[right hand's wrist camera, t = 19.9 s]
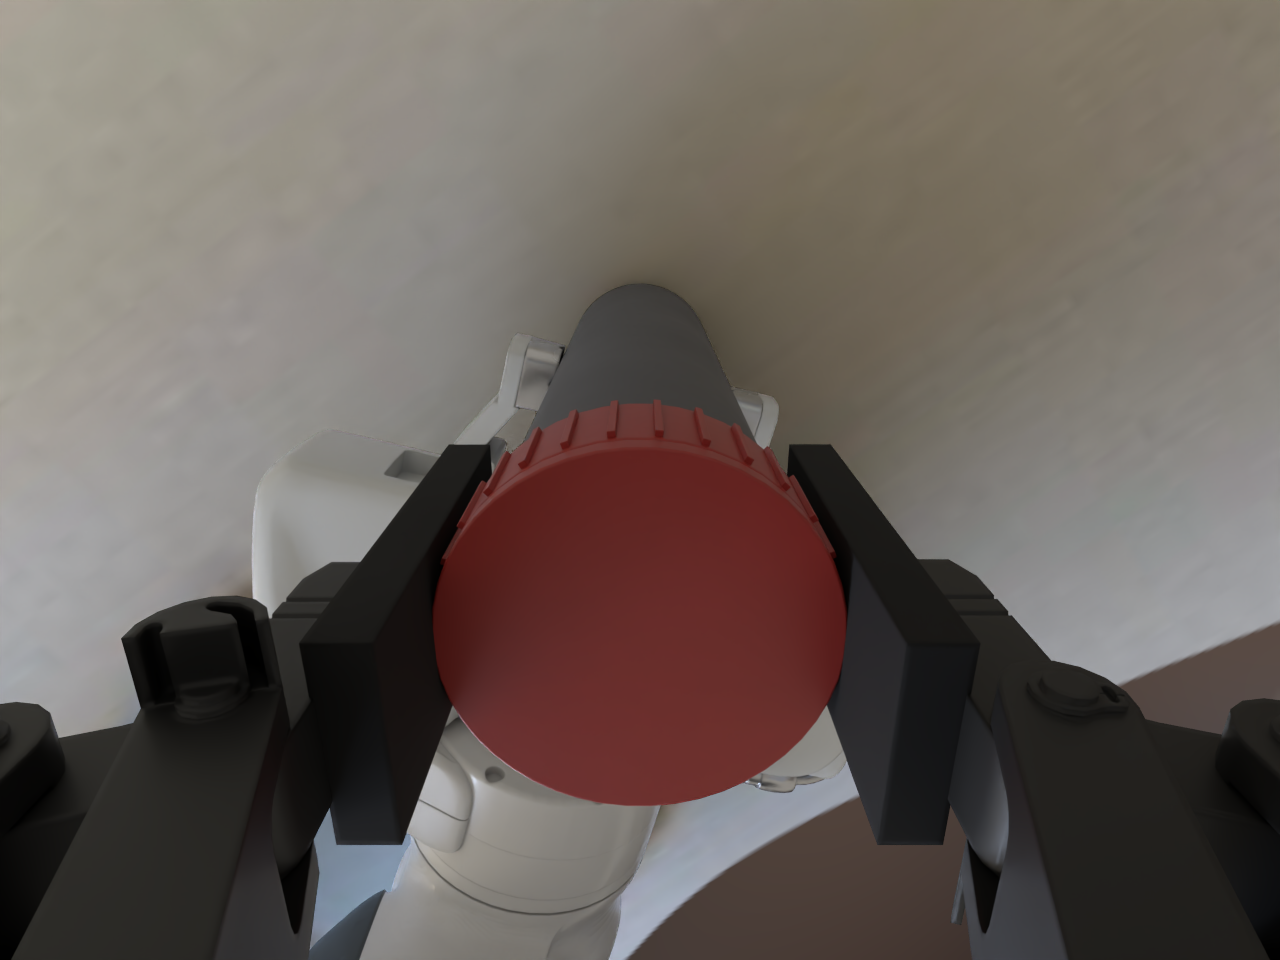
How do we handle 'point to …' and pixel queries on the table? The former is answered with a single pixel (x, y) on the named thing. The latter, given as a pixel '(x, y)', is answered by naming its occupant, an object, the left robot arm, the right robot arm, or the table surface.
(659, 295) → the dark grey bottle
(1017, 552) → the table surface
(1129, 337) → the table surface
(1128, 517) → the table surface
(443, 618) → the lid
